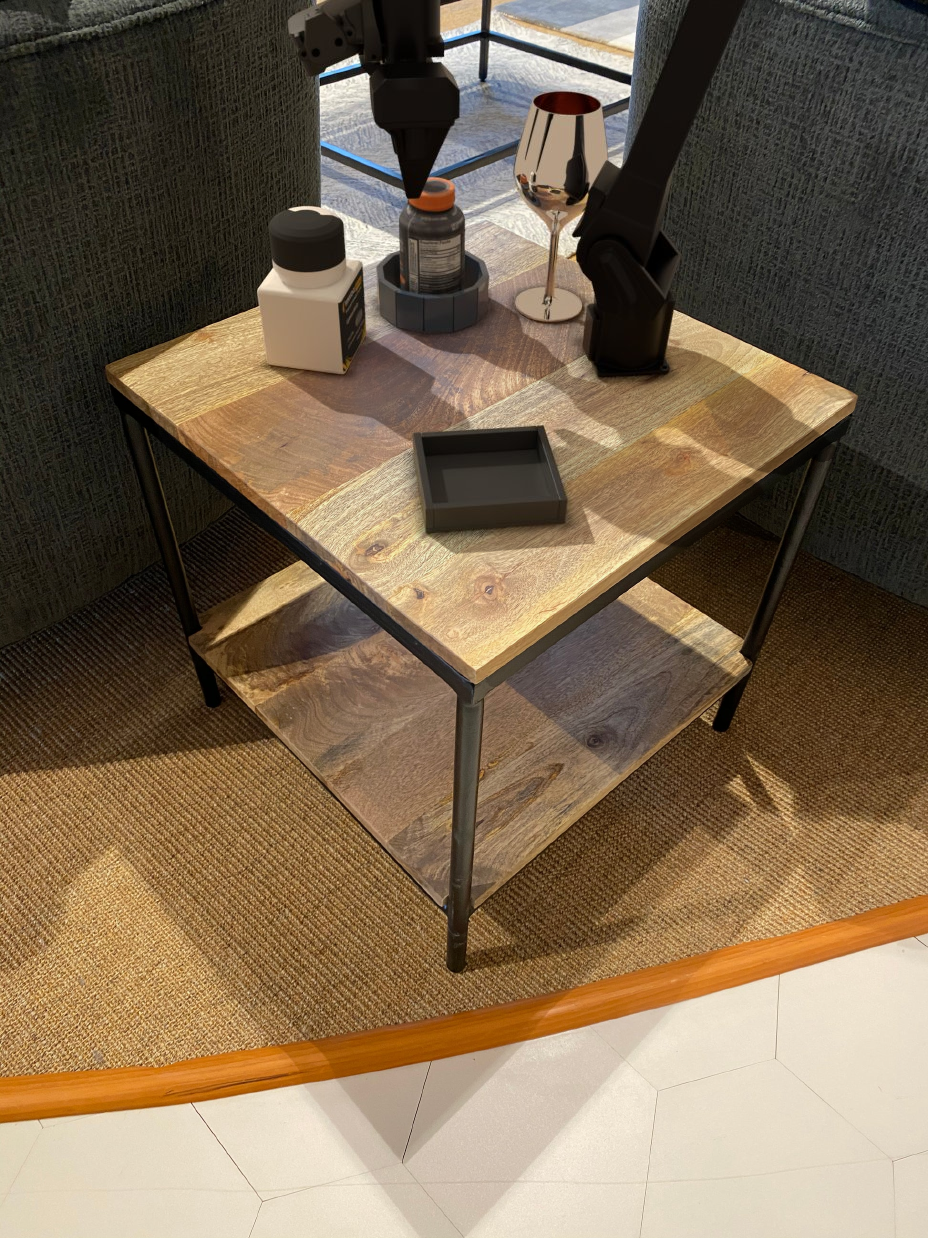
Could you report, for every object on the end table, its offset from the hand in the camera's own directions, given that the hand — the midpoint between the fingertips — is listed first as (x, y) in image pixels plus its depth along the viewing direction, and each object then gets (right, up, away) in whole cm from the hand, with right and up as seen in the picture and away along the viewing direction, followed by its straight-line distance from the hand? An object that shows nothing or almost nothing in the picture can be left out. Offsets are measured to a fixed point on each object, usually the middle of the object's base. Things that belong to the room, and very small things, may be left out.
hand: (406, 174), depth 82 cm
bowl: (+2, -7, +11) cm, 14 cm away
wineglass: (+13, -7, +12) cm, 19 cm away
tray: (+7, -27, -8) cm, 29 cm away
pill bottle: (+2, -7, +11) cm, 14 cm away
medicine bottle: (-8, -13, +5) cm, 17 cm away
